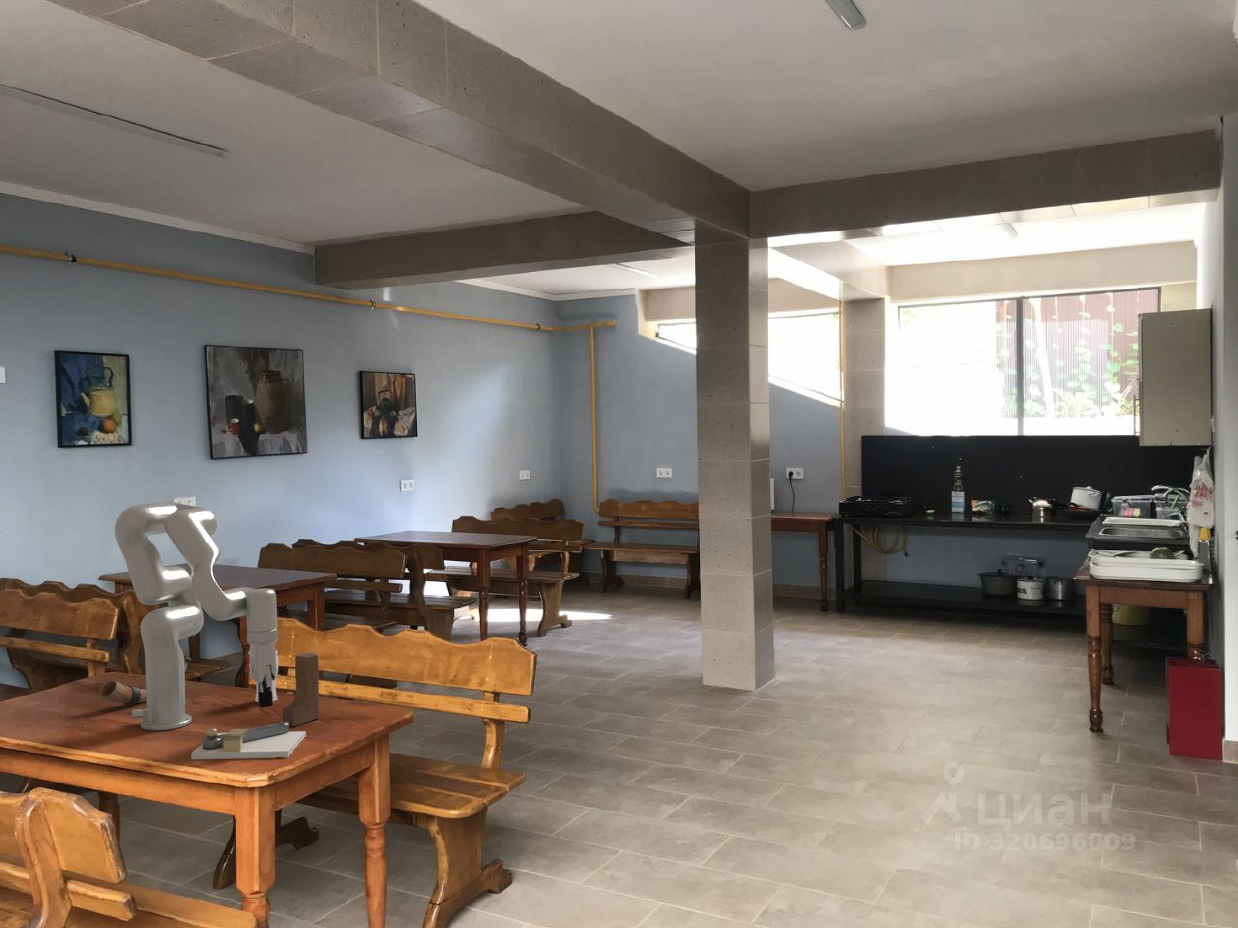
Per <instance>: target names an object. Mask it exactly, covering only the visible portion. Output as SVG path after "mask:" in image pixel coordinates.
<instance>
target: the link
mask: <svg viewBox="0 0 1238 928" xmlns="http://www.w3.org/2000/svg"><path fill="white" fill-rule="evenodd" d="M247 729H248V734H247V735H246V736H245V737H244V738H242V742H244V741H248V740H253V739H257V738H262V737H267V736H271V735H276V734H280V733H285V732H290V726H289V722H283V721H279V722H276V723H270V724H266V725H260V726H256V727H251V728H247ZM224 735H226V734H222V735H217V737H216V738H212V739H208V738H207V736H205V737H203V738H201V741H202V744H201V745H202V748H203V749H216V748H219V747H221V746H224V740H223V736H224Z"/></svg>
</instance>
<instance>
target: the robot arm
mask: <svg viewBox="0 0 1238 928" xmlns="http://www.w3.org/2000/svg"><path fill="white" fill-rule="evenodd" d="M217 528H218V521H217V519H216V517H215V515H214V513H212V512H211V511H210V510H209V509H207V508H204V507H201V506H200V507H199V506H195V505H188V504H185V503H179V502H170V501H166V502H165V501H164V502H155V503H154V502H153V503H144V504H143V503H142V504H137V505H133V506H130V507H128V508H126V509H124V510H123V511H122V512H121V513H120V514H119V516H117V519H116V521H115V525H114V537H115V540H116V543H117V545H118V547H119V550H120V551H121V555H122V556H123V558H124V561H125V565H126V568H127V571H128V574H129V578H130V580H131V584H132V586H133V590H134V592H135V596H136V597H137V600H138V601H139V602H140V603H141V604H142V605H146V606H153V605H158V604H159V605H160V604H163V603H167V604H168V606H163V607H160V608H157V609H154V610H152V611H150V612H148V613H147V614H146V615H145V616H144V617H143V618H142V621H141V623H140V635H141V638H142V639H141V640H142V643H143V647H144V656H145V657H144V658H145V689H146V707H145V708H144V709H139V708H138V709H137V708H135V709H132V711H131V716H132V718H133V719H142V720H141V721H140V728H141V729H142V730H146V731H167V730H174V729H177V728H182V727H184V726H187V725H189V724H190V723H191V722H192V720H193V717H192V715H190V714H188V713H186V683H185V682H186V677H185V676H186V675H185V672H184V663H185V655H184V652H183V650H182V648H181V646H180V644H179V641H180V640H182V639H187V638H189V637H193V636H195V635H197V634H198V633H199V632H200V631H201V630H202V628H203V626H204V622H205V616H204V612H205V613H206V614H207V615H208V616H209V617H210V618H211V619H213V620H215V621H217V622H218V621H219V622H220V621H222V622H223V621H229V620H232V619H235V618H239V617H244V616H246V617H245V618H246V637H247V644H248V645H249V676H250V678H251V679H252V680H253V681H255V683H256V682H257V683H258V700H259V703H258V707H259V708H261V709H262V708H269V707H273V704H274V702H273V698H272V680H273V681H274V680H275V679H276V676H277V677H278V674H277V670H276V654H275V648H276V647H275V645H276V644H275V643H277V642H278V641H279V635H278V634H279V633H278V632H279V631H278V609H277V608H278V607H277V594H276V591H275V590H274V589H273V588H265V587H264V588H255V587H254V588H253V587H249V586H248V587H247V586H239V587H236V588H229V589H226V590H223V589H222V588H221V587H220V585H219V584H218V582H217V581H216V580H215V577H214V574H213V566H214V565H215V564H216V563H218V561H219V560H220V558H221V556H222V551H221V549H220V547H219V546H218V545H217V544H216V542H215V541H214V539H213V538H212V536H213V535H215V533H216V531H217ZM159 534H160V535H161V534H166V535H168V537H169V539H170V541H172V543H173V544H174V546H175V547H176V549H177V550H178V551H179V553H180V554H181V556H182V557H183V558H184V560H185V562H186V563H187V565H189V568H190V569H191V575H190V573H189V572H188V571H187V570H186V569H185V568H183V567H181V566H179V565H170V566H169V565H168V566H165V564H164V563H163V561H162V558H161V553H160V551H159V549H158V548H157V547H156V545H155V544H154V543H153V542H152V541H151V540H150V539H149V536H152V535H159Z"/></svg>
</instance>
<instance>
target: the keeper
mask: <svg viewBox="0 0 1238 928" xmlns="http://www.w3.org/2000/svg"><path fill="white" fill-rule="evenodd" d="M248 729H249V728H231V729H230V730H229V731H228V732H226V733H227V734H226V735H224V736H223V740H224V752H241V751H242V750H243V747H242V738H244V737H245V736H246V735H247V734H248ZM217 733H218V728H217V727H210V728H209V727H208V728H207V729H206V737H207V738H208V739H212V738H216V737H217Z"/></svg>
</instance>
